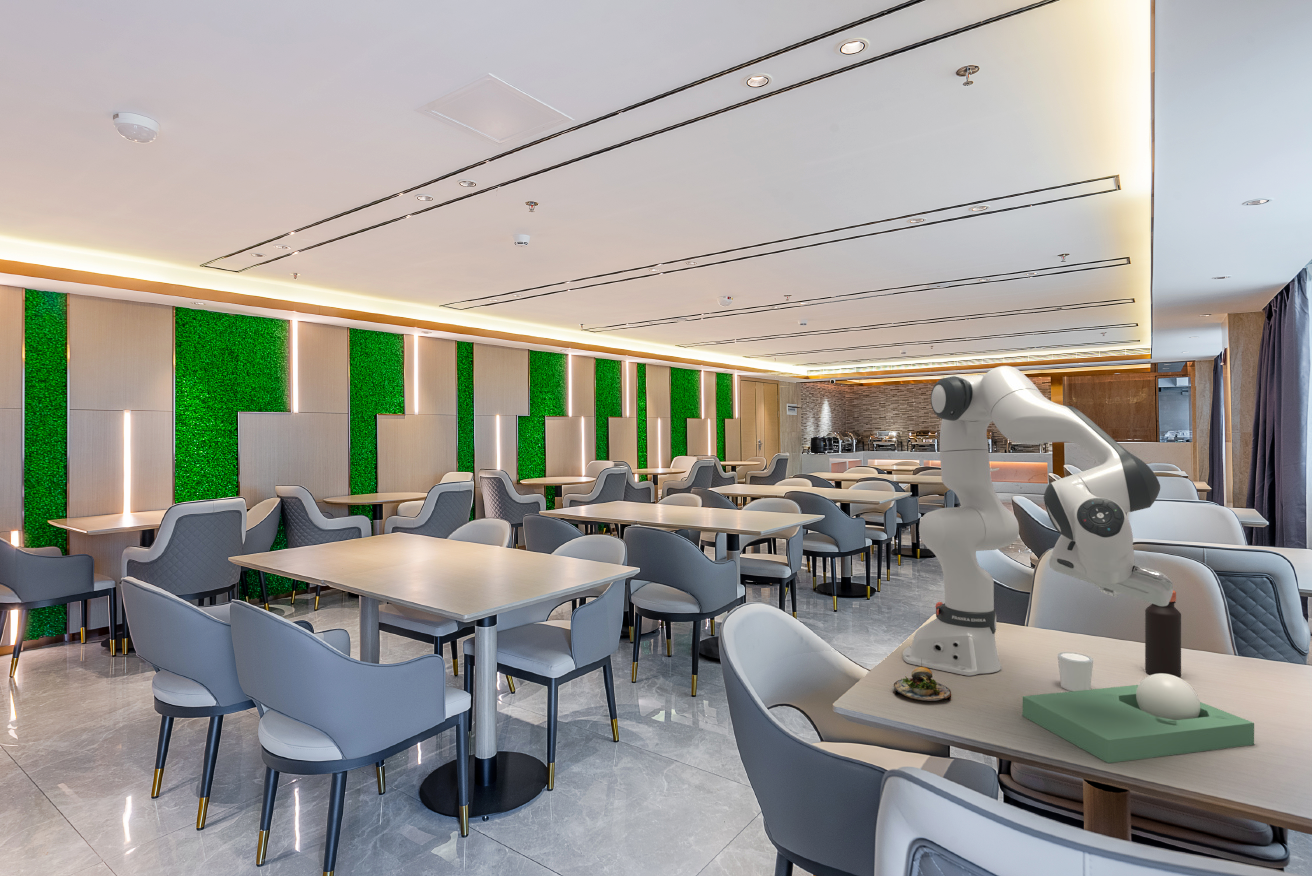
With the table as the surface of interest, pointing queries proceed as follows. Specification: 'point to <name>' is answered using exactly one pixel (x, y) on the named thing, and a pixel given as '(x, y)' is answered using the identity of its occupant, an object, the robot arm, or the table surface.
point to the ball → (1167, 697)
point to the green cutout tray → (1132, 725)
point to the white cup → (1075, 671)
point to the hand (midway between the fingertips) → (1110, 591)
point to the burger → (922, 686)
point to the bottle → (1163, 639)
